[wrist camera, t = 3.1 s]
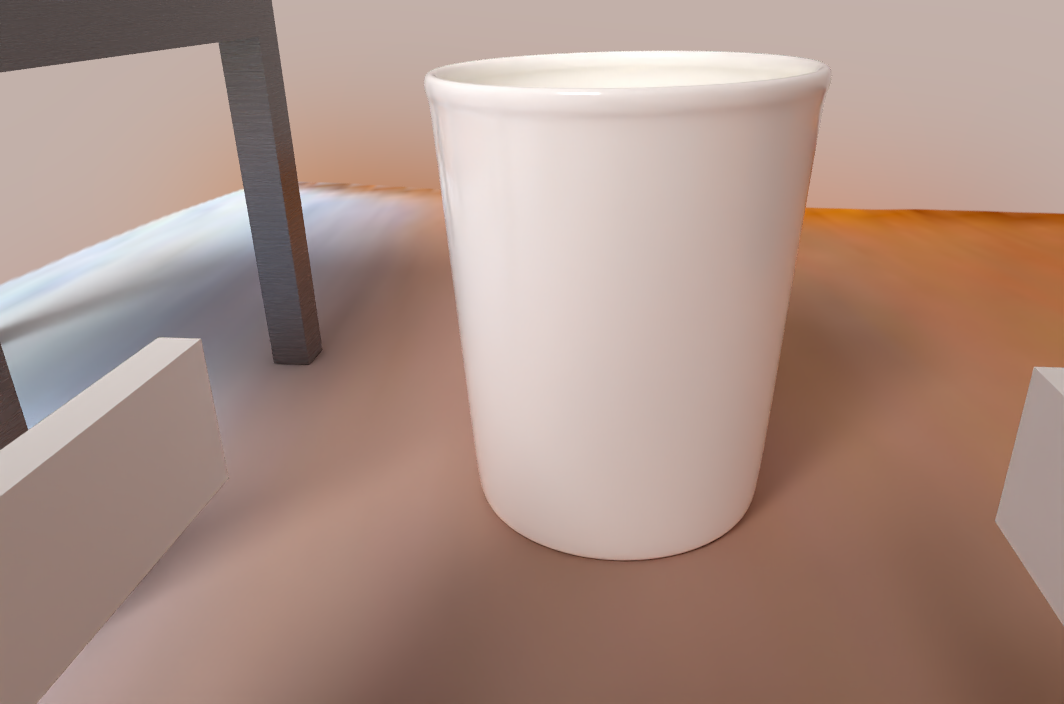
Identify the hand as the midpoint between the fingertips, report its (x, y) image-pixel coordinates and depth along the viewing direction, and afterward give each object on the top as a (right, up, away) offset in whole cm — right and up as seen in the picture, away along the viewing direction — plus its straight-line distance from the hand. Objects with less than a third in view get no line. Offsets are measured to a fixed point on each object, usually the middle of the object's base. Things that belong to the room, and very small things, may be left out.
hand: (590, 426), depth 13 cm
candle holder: (+2, -3, +12) cm, 12 cm away
